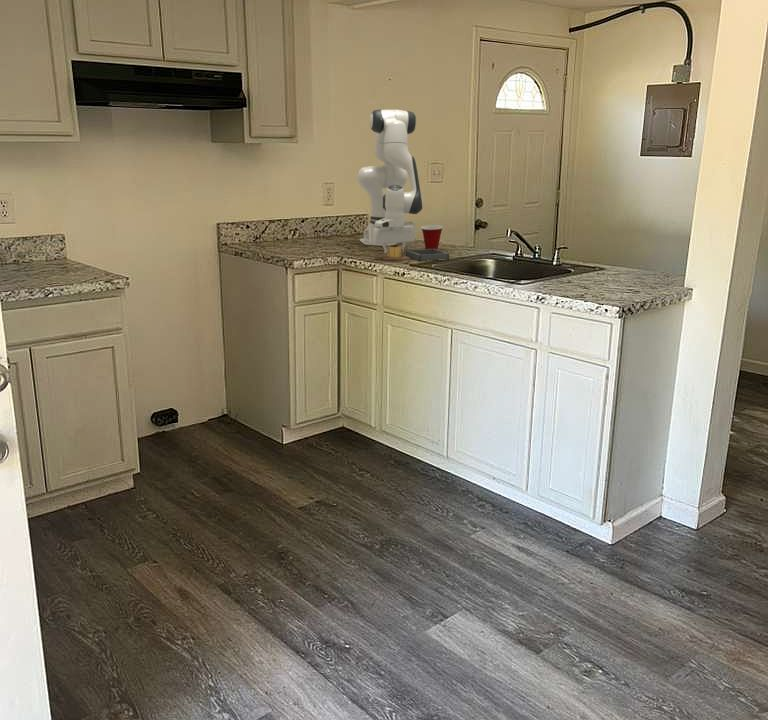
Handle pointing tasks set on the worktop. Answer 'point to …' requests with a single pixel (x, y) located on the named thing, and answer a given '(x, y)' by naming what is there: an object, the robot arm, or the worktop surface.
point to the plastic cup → (431, 236)
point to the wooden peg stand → (393, 257)
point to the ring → (394, 251)
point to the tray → (426, 254)
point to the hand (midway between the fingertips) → (394, 252)
